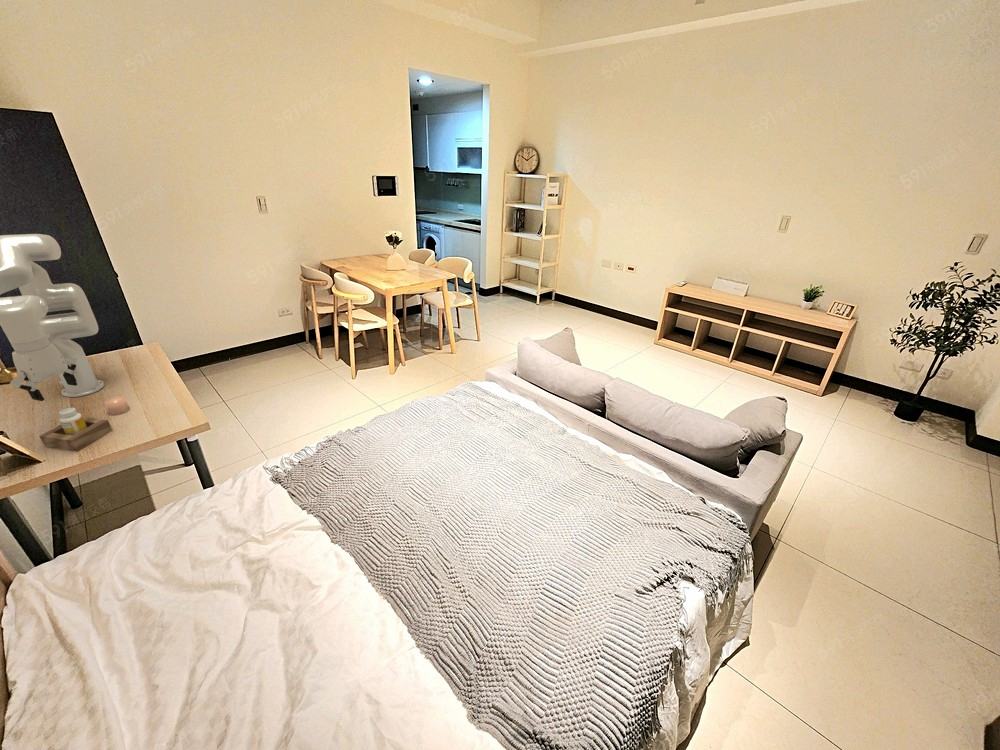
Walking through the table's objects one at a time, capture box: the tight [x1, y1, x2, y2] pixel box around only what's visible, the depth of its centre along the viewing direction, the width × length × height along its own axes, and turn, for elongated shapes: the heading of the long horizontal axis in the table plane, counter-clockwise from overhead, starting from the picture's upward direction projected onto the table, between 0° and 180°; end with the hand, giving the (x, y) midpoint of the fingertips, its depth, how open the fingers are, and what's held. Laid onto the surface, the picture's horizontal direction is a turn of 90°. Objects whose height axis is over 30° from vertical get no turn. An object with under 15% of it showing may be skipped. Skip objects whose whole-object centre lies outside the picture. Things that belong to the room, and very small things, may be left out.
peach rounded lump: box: [103, 395, 130, 416], centre depth 155 cm, size 6×6×5 cm
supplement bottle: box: [58, 407, 87, 436], centre depth 138 cm, size 5×5×10 cm
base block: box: [38, 416, 114, 453], centre depth 140 cm, size 12×12×5 cm
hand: (56, 392), depth 132 cm, fingers open, 9 cm apart
